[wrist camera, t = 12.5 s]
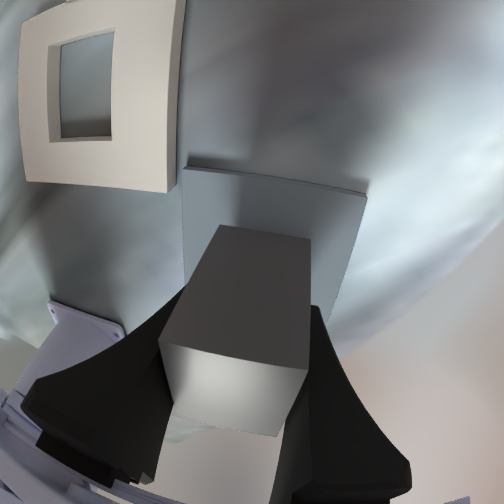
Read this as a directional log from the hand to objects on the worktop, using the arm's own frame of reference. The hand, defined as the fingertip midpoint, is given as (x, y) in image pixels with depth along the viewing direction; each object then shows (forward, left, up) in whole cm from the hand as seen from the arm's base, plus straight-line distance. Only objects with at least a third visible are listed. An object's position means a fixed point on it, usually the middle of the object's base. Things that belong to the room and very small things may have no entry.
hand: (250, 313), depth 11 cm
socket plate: (+9, +10, -4) cm, 14 cm away
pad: (0, 0, -4) cm, 4 cm away
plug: (0, 0, -2) cm, 2 cm away
